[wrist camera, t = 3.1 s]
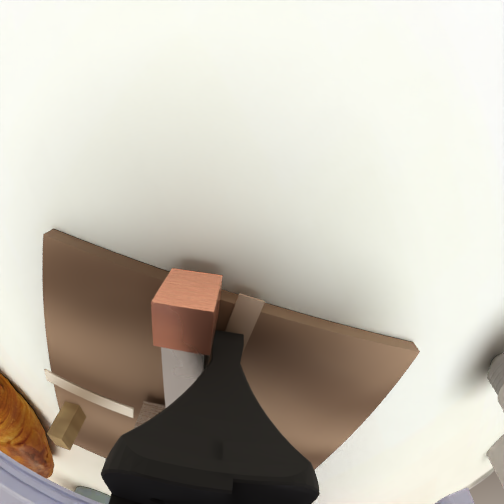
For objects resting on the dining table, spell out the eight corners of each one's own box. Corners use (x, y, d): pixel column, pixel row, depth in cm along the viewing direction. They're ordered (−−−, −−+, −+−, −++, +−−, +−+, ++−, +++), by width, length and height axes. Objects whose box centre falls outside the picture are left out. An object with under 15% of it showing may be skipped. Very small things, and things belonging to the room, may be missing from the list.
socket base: (278, 490, 19) (280, 539, 14) (66, 431, 17) (44, 476, 12) (418, 334, 13) (466, 406, 8) (46, 215, 11) (-36, 257, 6)
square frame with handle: (232, 460, 15) (230, 497, 12) (153, 447, 14) (143, 482, 12) (268, 281, 10) (272, 327, 8) (130, 261, 10) (96, 298, 7)
